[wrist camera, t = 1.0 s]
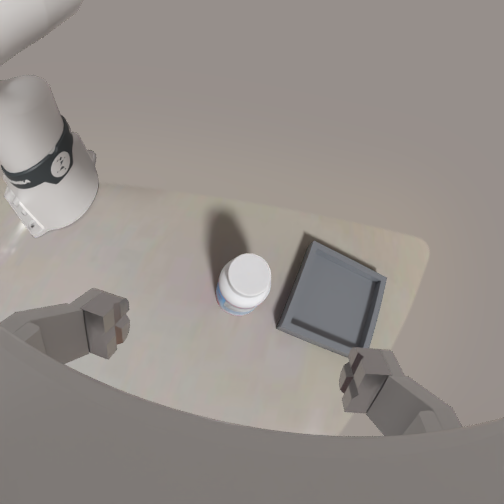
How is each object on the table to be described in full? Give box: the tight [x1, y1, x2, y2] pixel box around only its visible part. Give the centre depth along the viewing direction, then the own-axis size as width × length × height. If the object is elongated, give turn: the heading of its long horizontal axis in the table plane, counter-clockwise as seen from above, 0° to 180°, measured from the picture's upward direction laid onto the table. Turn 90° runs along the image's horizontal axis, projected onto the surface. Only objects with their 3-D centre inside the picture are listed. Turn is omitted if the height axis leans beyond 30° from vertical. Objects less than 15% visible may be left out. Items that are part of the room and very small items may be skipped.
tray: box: [276, 241, 387, 357], centre depth 41 cm, size 14×14×2 cm
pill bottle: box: [216, 253, 271, 316], centre depth 35 cm, size 6×6×11 cm
